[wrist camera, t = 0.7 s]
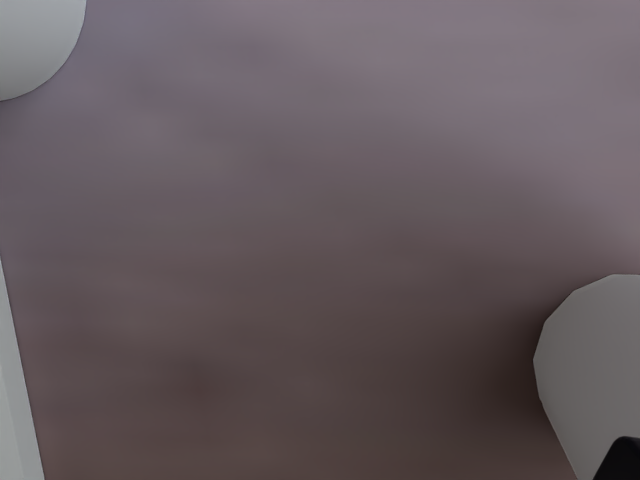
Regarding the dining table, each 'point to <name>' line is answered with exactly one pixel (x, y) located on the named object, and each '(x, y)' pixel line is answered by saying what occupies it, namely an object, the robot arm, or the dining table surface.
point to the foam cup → (592, 369)
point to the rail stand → (14, 405)
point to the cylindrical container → (35, 41)
